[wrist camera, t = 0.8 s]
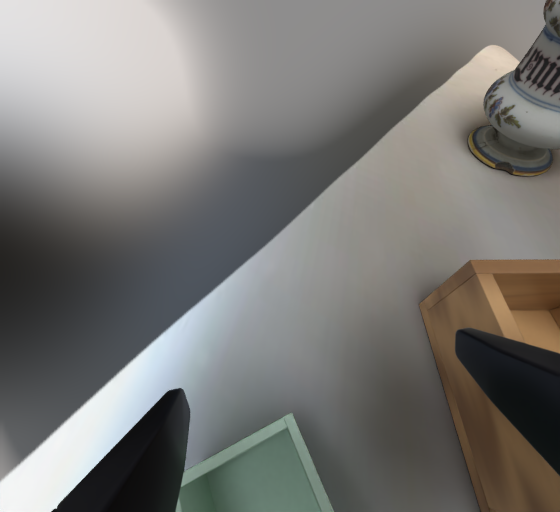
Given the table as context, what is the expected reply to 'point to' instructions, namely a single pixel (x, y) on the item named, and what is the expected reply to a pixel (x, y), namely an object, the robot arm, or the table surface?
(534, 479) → the crate
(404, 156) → the table surface
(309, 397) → the table surface
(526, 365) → the robot arm
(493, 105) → the apothecary jar
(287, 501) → the bin
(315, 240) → the table surface
